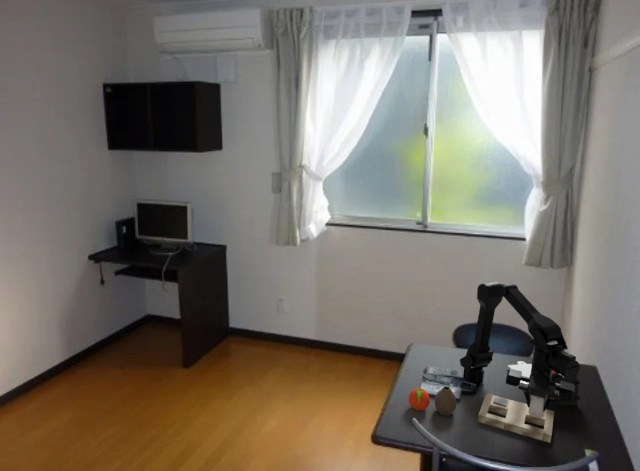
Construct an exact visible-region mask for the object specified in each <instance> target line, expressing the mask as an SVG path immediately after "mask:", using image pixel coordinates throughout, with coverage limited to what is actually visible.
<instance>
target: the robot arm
mask: <svg viewBox="0 0 640 471" xmlns="http://www.w3.org/2000/svg"><path fill="white" fill-rule="evenodd" d="M503 298H504V299H505V300H506V301H507V302H508V303H509V304H510V306H511V307H512V308H513V309H514V310H515V311H516V313H517V314H518V315H519V317H521V319H523V321H524V322H525V323H526V324H527V330H528V332H529V334H530V335H531V337H532V339H531V340H528V343H529V344H530V345H531V346H533V353H532V360H531V364H532V367H531V374H530V377H525V376H522V371H518V370H514V369H509V370H508V369H507V373H506V378H505V384H506V385H508V386H513V387H517V388H518V389H519V390H521V391H522V392H523V394H524V397H525V402H526V404H527V406H528V407H529V405H530V397H531V395H535V396H539V397H541V398H546V400H545V403H544V409H543V411H545V410H546V409H548V407H549V406H548V405H549V404H550V402H551V401H552V400H553V399H559V396H560V397H561V398H563V399H567V400H573V399H574V392H575V386H574V384H572V383H568V382H564V381H560V384H557V383H553V382H552V381H551V376H552V370H553V371H555V372H556V373H558V374H560V375H561V376H563V377H565V378H566V379H568V380H571V379H573V378H575V377H576V376H577V377H578V374H579V373H580V370H581V366H580V364H579V362H578V361H577V360H576V359H577V357H576V355H574V354H570V353H569V352H568V351H566V350H568V345H567V342H566V339H565V338H564V335H563V332H562V328H561V327H560V325H559V323H557V322H555V320H553V319H551V318H550V317H548V316H546V315H543V314H542V313H541V312H539V310H538V309H537V308H536V307H535V306H534V305H533V304H532V303H531V302H530V301H529V299H528V298H527V297H526V296H525V294H523V293H522V292H521V291H520V290H519V288H518V286H517V285H516V284H515V283H506V284H505V283H504V284H501V283H500V282H498V281H492V282H486V283H480V284H478V286H477V293H476V299H477V302H478V304H479V310H478V316H477V322H476V329H475V335H474V338H473V342H472V343H471V344H470V345H469V347H468V348H467V351H466V353H465V356H463V357H461V358H460V359H459V364H460V366H461V367H462V368H463V375H462V379H465V380H466V381H468V382H471V383H475V384H476V386H477V387H476V386H475V387H476V388H481V385H482V384H483V383H484V381H485V380H484V379H485V370H484V368H487V367H488V366H489V364H491V362H493V355H494V350H492V349H491V347H490V345H489V344H490V343H489V342H490V338H491V333H492V330H493V328H492V327H493V322H494V317H495V312H496V308H497V307H498V306H499V305H500V303H501V302H502V300H503ZM555 342H556V343H555ZM550 343H553V344H550Z"/></svg>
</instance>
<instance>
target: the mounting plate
mask: <svg viewBox="0 0 640 471" xmlns="http://www.w3.org/2000/svg"><path fill="white" fill-rule="evenodd" d="M506 366H507V369H506V370H507V371H508V370H509V369H514V370H518V371H522V376H525V377H530V374H531V367H532V363H526V362H525V361H522V360H519V361H517V362H516V364H507V365H506Z"/></svg>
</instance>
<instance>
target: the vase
mask: <svg viewBox="0 0 640 471" xmlns="http://www.w3.org/2000/svg"><path fill="white" fill-rule="evenodd" d="M434 406H435V409H436V411H437V412H438V413H439V414H440V415H443V416H450V415H452V414H454V412H455V411H456V408H457V398H456V394H455V393H454V392H453V391H452V388H451V386H447V385H444V386H443V387H442V388H441V389H439V391H438V392H437V393H436V395H435V398H434Z"/></svg>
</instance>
